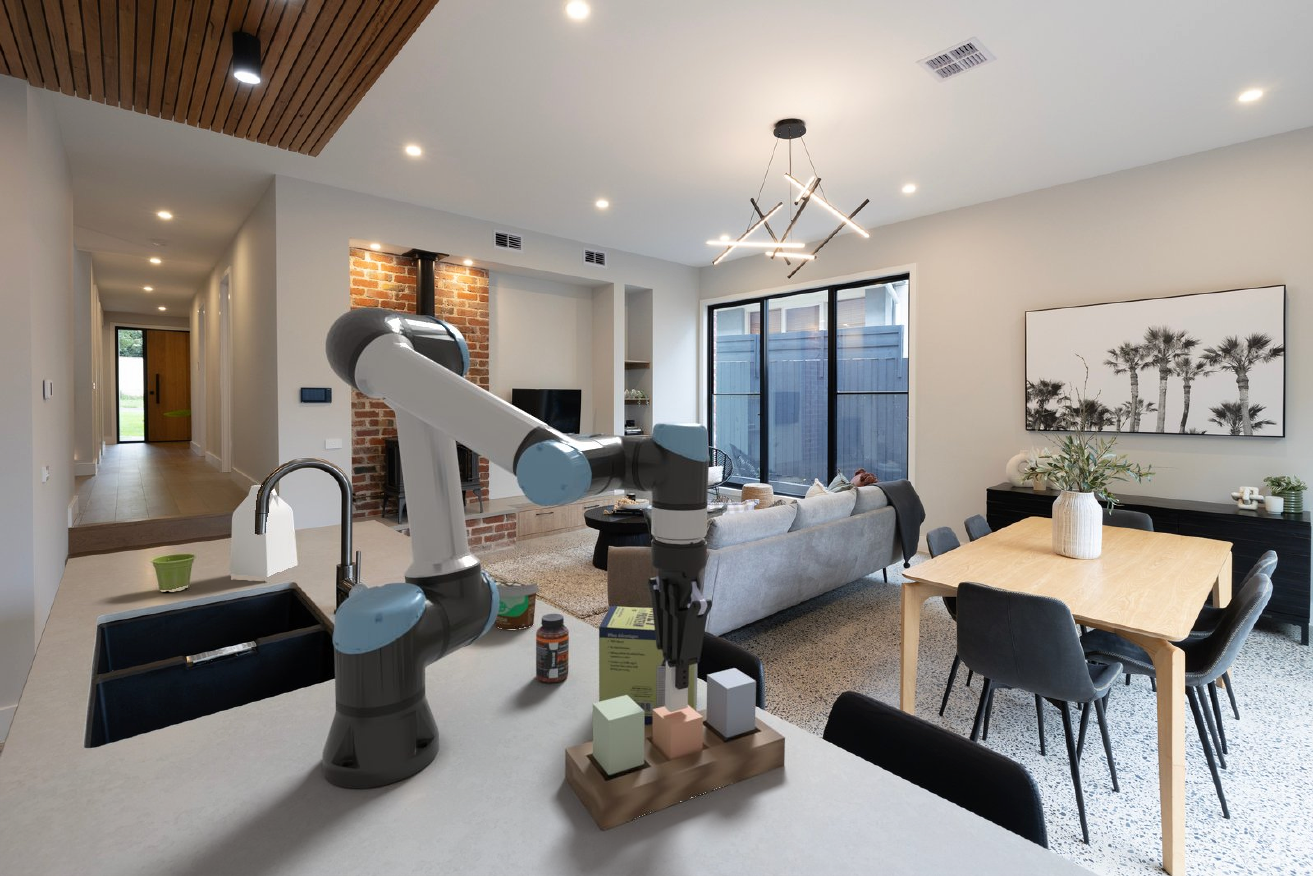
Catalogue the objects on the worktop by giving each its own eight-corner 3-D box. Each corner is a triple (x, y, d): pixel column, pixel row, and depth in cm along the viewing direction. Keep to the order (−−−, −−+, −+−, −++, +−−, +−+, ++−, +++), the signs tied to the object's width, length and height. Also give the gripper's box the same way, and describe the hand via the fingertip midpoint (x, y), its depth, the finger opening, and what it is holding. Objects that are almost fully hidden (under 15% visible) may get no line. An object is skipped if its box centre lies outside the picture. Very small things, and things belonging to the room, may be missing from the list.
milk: (229, 580, 174) (227, 487, 172) (262, 569, 185) (260, 482, 184) (267, 582, 172) (265, 489, 170) (298, 571, 183) (296, 483, 182)
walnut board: (601, 831, 73) (602, 798, 73) (565, 777, 84) (565, 748, 83) (784, 765, 87) (784, 737, 87) (733, 725, 97) (733, 701, 97)
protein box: (608, 692, 109) (609, 605, 108) (697, 697, 107) (698, 608, 106) (596, 722, 98) (597, 626, 97) (695, 728, 97) (696, 631, 96)
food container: (476, 627, 139) (476, 583, 138) (493, 618, 145) (493, 576, 144) (523, 635, 134) (523, 590, 134) (539, 626, 140) (538, 582, 139)
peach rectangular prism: (670, 777, 82) (671, 726, 81) (652, 758, 86) (652, 709, 86) (702, 766, 84) (702, 716, 84) (682, 748, 89) (683, 701, 88)
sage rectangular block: (608, 775, 77) (609, 720, 77) (592, 755, 82) (592, 703, 81) (644, 764, 80) (644, 711, 79) (626, 745, 84) (627, 695, 84)
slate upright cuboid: (726, 738, 86) (727, 688, 86) (706, 721, 90) (707, 674, 90) (755, 729, 89) (756, 681, 88) (734, 713, 93) (734, 667, 93)
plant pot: (189, 582, 171) (188, 551, 170) (202, 589, 165) (201, 556, 165) (146, 591, 163) (145, 558, 163) (159, 597, 158) (157, 564, 157)
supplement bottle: (562, 685, 111) (562, 623, 110) (530, 682, 112) (530, 621, 111) (573, 671, 117) (573, 612, 116) (543, 668, 118) (543, 610, 117)
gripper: (730, 544, 80) (726, 723, 81) (677, 526, 91) (675, 682, 92) (680, 550, 76) (677, 737, 77) (632, 530, 87) (630, 693, 89)
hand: (676, 707), depth 85 cm, fingers closed
